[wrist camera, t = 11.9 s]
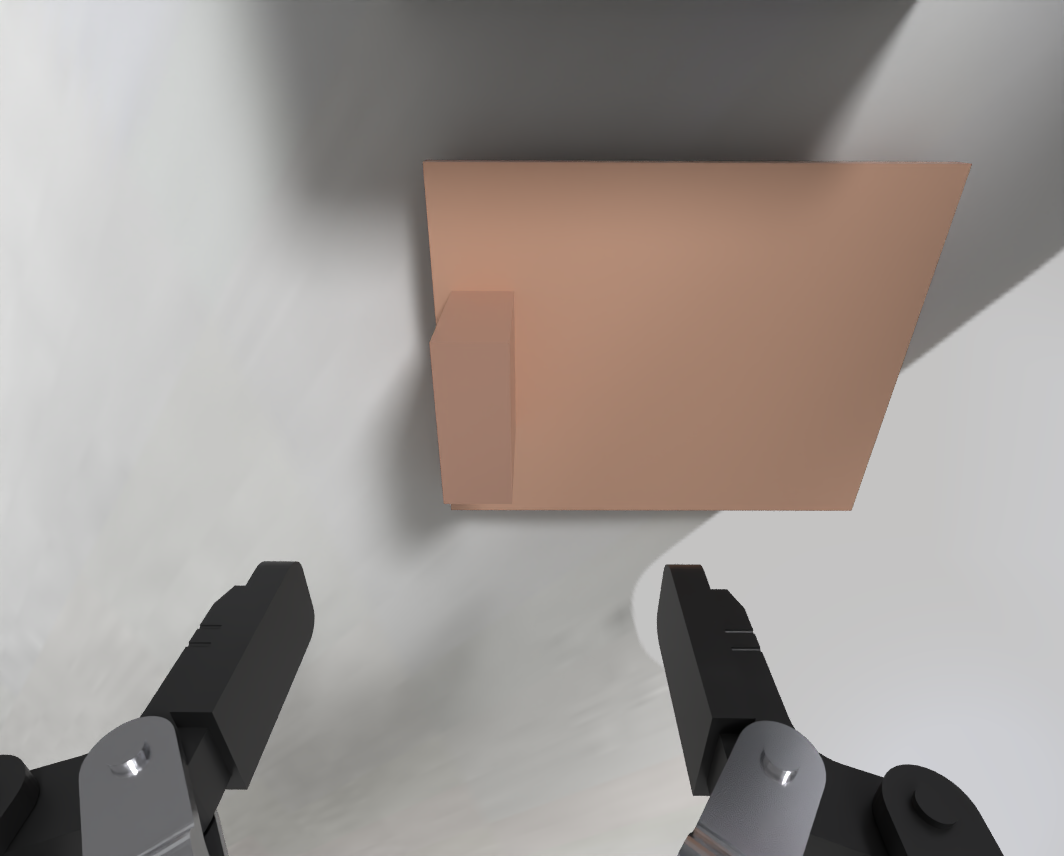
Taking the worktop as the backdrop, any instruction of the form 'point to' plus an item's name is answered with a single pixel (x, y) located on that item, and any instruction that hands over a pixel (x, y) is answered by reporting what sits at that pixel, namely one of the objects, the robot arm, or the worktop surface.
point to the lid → (673, 327)
